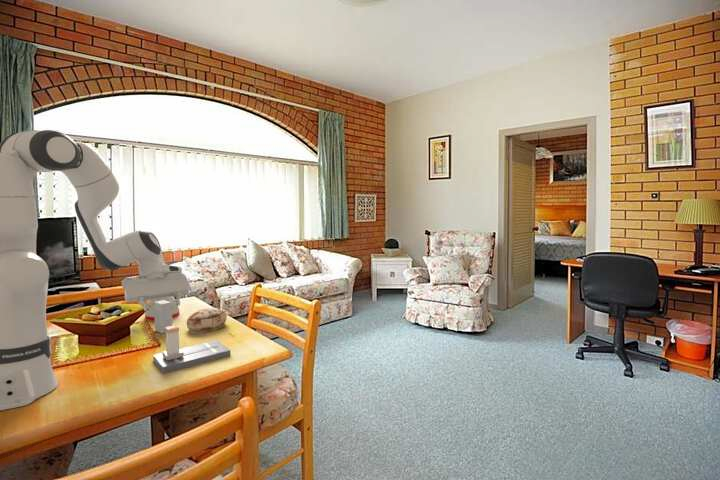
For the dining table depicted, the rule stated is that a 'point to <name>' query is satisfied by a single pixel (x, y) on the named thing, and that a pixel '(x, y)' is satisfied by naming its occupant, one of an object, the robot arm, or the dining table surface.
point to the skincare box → (162, 315)
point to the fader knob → (172, 343)
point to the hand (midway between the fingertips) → (162, 307)
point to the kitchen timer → (150, 313)
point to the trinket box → (206, 320)
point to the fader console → (192, 356)
